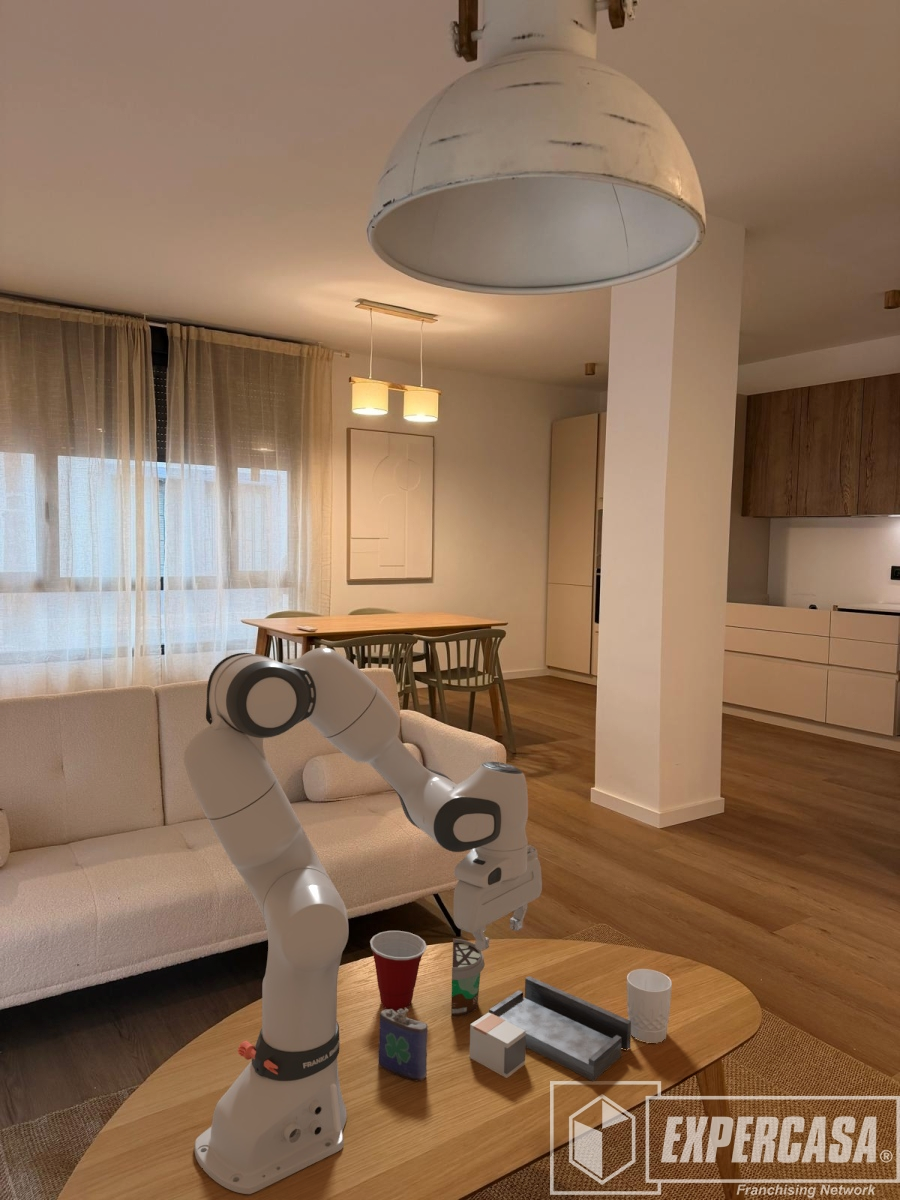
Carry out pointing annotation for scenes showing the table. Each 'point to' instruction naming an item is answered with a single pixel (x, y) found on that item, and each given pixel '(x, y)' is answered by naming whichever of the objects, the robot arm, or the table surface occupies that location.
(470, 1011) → the food container
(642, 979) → the white cup
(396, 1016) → the flask
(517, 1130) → the table surface
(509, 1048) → the block
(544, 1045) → the dark grey tray
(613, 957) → the table surface
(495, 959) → the table surface
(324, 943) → the robot arm
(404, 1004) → the plastic cup
